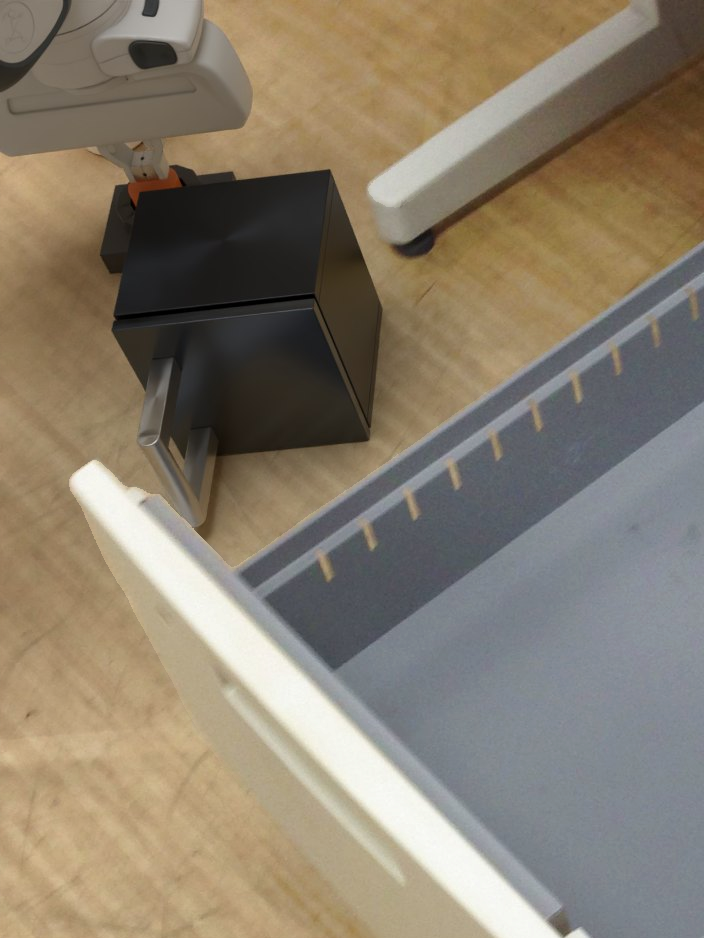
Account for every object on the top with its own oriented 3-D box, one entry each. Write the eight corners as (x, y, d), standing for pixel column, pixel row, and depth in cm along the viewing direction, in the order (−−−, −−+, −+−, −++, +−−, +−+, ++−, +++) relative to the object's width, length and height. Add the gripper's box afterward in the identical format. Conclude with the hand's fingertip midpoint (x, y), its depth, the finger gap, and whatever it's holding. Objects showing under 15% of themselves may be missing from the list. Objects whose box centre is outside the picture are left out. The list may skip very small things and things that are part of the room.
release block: (110, 274, 144) (90, 238, 141) (125, 204, 148) (106, 168, 145) (230, 261, 143) (213, 224, 139) (241, 191, 147) (225, 153, 144)
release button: (132, 219, 142) (124, 203, 140) (140, 184, 144) (131, 168, 143) (181, 214, 141) (173, 197, 140) (188, 179, 144) (180, 162, 142)
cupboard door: (360, 527, 126) (301, 398, 114) (168, 545, 127) (91, 420, 116) (370, 430, 131) (314, 297, 119) (185, 449, 132) (112, 319, 121)
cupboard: (371, 428, 131) (314, 293, 119) (186, 447, 132) (112, 315, 121) (383, 308, 137) (330, 168, 126) (206, 327, 139) (138, 191, 127)
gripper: (-67, 77, 129) (17, 219, 140) (208, 41, 126) (270, 189, 138) (-49, 20, 132) (32, 163, 144) (219, -16, 130) (279, 133, 141)
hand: (150, 175), depth 141 cm, fingers closed
